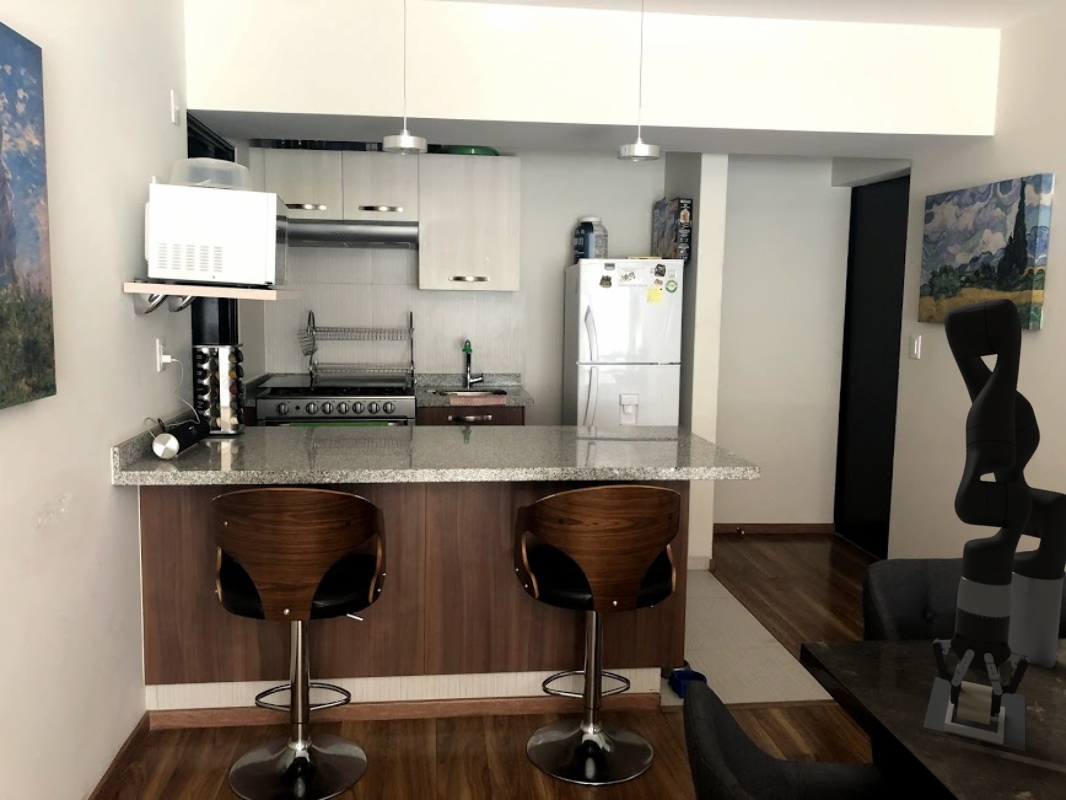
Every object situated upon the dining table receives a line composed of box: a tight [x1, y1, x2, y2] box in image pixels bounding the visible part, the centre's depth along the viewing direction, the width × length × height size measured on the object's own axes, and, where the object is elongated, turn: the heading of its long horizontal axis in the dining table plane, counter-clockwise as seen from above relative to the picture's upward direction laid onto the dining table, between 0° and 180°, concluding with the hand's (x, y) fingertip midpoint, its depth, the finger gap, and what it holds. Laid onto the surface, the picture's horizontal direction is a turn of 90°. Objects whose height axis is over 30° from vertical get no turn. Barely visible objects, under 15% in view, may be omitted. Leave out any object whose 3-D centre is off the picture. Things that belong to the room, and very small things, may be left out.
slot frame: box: [944, 698, 1005, 744], centre depth 138 cm, size 12×8×1 cm
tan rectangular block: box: [957, 680, 993, 725], centre depth 138 cm, size 8×4×3 cm, turn 150°
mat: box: [922, 676, 1026, 757], centre depth 142 cm, size 22×14×1 cm, turn 151°
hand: (974, 710), depth 138 cm, fingers closed on tan rectangular block, 4 cm apart
